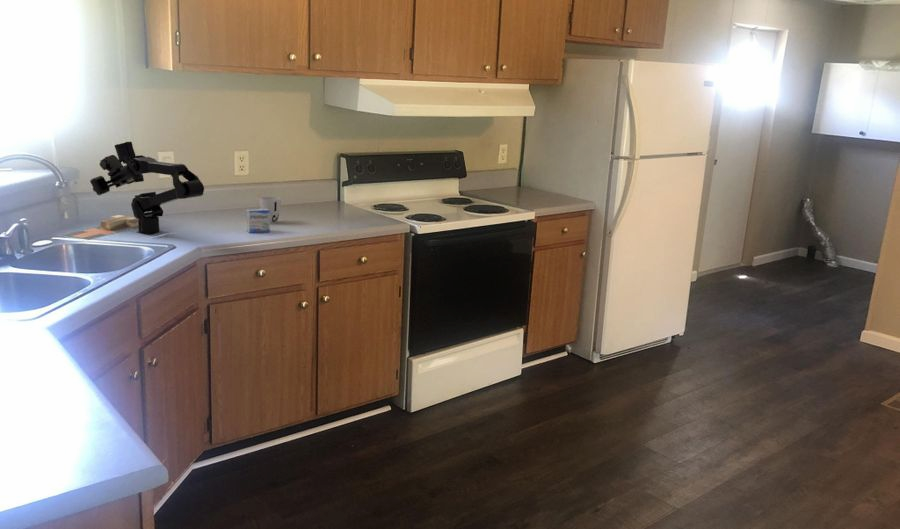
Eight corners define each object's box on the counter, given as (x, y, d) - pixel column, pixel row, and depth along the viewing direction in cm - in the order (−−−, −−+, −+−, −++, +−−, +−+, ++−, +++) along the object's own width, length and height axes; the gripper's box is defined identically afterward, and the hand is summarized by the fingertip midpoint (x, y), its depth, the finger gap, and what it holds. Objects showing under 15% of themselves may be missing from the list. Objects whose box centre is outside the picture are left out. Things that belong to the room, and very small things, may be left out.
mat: (144, 227, 272) (144, 225, 271) (89, 241, 247) (88, 239, 247) (119, 223, 275) (118, 221, 275) (61, 236, 251) (61, 235, 251)
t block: (140, 225, 271) (139, 218, 270) (116, 231, 260) (115, 223, 259) (119, 222, 274) (118, 214, 273) (94, 228, 263) (93, 220, 262)
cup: (275, 225, 287) (275, 200, 284) (256, 223, 288) (256, 198, 286) (283, 221, 295) (283, 197, 292) (265, 219, 296) (265, 195, 293)
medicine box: (249, 233, 272) (248, 210, 269) (246, 230, 275) (246, 208, 273) (269, 232, 275) (269, 210, 273) (267, 229, 279) (266, 207, 277)
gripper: (136, 146, 268) (113, 159, 276) (94, 160, 253) (71, 173, 261) (151, 174, 270) (127, 186, 279) (110, 189, 255) (87, 201, 264)
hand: (103, 186), depth 270 cm, fingers open, 9 cm apart
